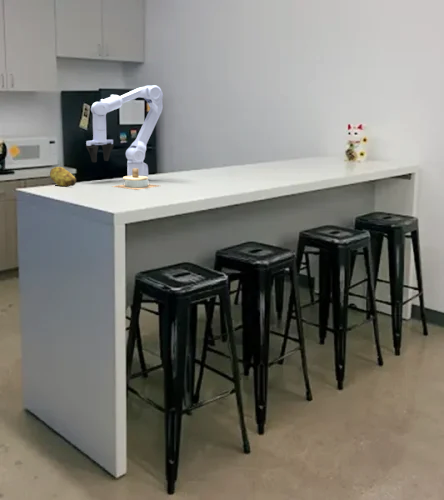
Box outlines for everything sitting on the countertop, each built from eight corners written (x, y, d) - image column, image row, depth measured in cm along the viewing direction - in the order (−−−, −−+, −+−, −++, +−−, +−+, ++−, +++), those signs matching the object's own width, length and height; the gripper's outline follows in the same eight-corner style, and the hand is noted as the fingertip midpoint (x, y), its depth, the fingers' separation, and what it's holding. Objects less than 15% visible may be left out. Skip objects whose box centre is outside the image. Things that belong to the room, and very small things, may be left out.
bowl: (135, 183, 274) (135, 177, 274) (152, 186, 269) (152, 179, 268) (120, 186, 266) (120, 179, 266) (137, 188, 261) (137, 181, 261)
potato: (59, 188, 263) (58, 169, 261) (47, 184, 273) (47, 166, 271) (78, 187, 268) (77, 168, 266) (65, 183, 277) (65, 165, 276)
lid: (130, 176, 274) (129, 166, 273) (151, 178, 271) (151, 168, 269) (118, 179, 264) (118, 169, 263) (141, 181, 261) (141, 170, 260)
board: (136, 185, 278) (136, 182, 278) (161, 188, 271) (161, 185, 271) (111, 188, 265) (111, 186, 265) (136, 192, 258) (136, 189, 258)
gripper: (104, 129, 282) (105, 159, 285) (80, 130, 270) (81, 161, 273) (116, 129, 278) (116, 160, 281) (92, 130, 266) (93, 163, 269)
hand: (100, 161), depth 277 cm, fingers open, 7 cm apart
